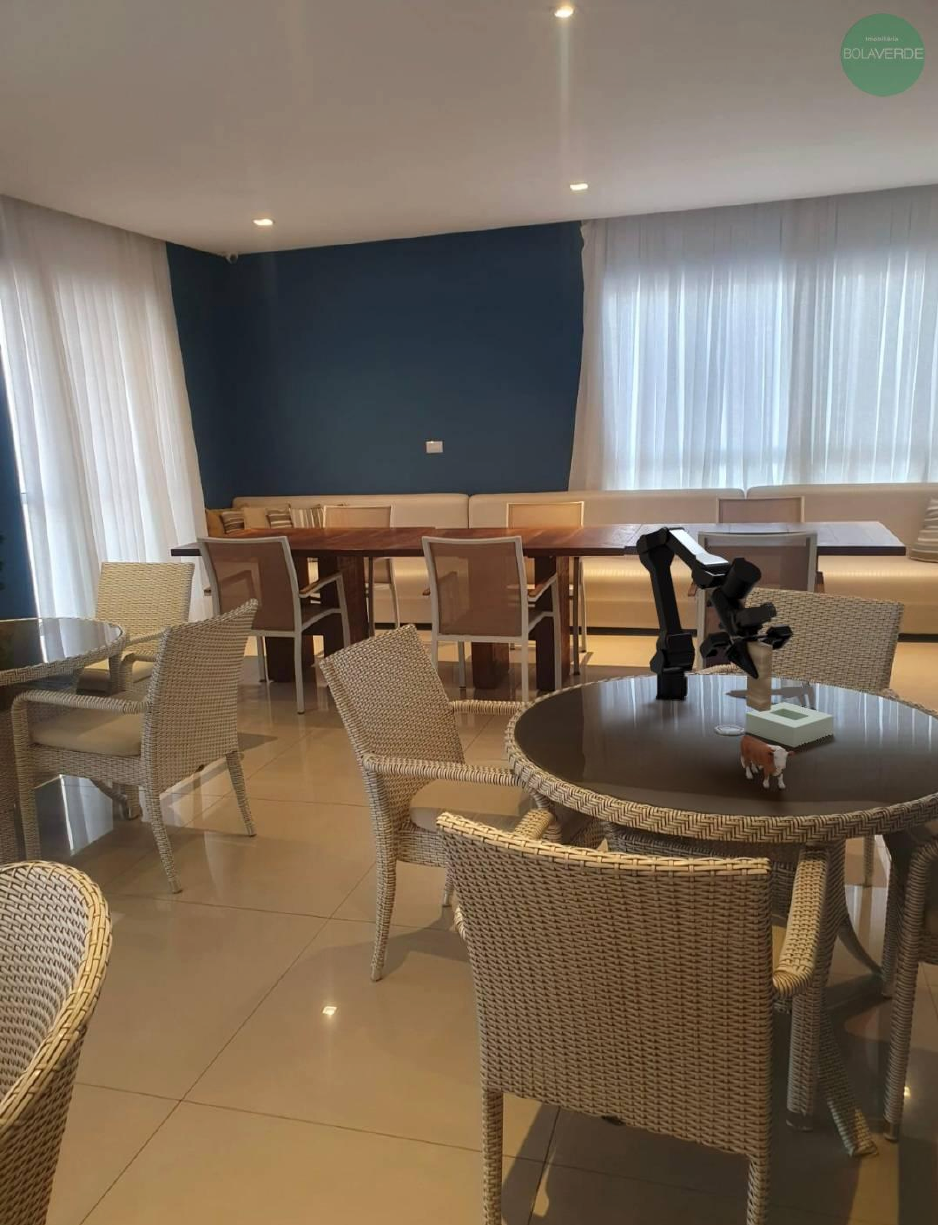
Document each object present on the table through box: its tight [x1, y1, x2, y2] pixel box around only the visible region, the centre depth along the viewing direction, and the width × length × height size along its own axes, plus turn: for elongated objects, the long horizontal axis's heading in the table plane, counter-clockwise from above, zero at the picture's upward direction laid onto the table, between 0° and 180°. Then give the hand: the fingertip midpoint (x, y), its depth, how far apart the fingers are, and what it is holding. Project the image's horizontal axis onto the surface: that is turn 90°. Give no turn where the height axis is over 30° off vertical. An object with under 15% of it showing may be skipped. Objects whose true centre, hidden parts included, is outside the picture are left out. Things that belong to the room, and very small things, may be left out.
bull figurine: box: [739, 734, 795, 790], centre depth 153 cm, size 4×13×8 cm, turn 13°
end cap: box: [744, 701, 835, 748], centre depth 178 cm, size 12×12×4 cm
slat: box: [745, 641, 773, 712], centre depth 172 cm, size 2×4×13 cm, turn 17°
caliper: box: [725, 680, 816, 709], centre depth 199 cm, size 20×1×6 cm, turn 50°
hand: (763, 677), depth 171 cm, fingers closed on slat, 2 cm apart
